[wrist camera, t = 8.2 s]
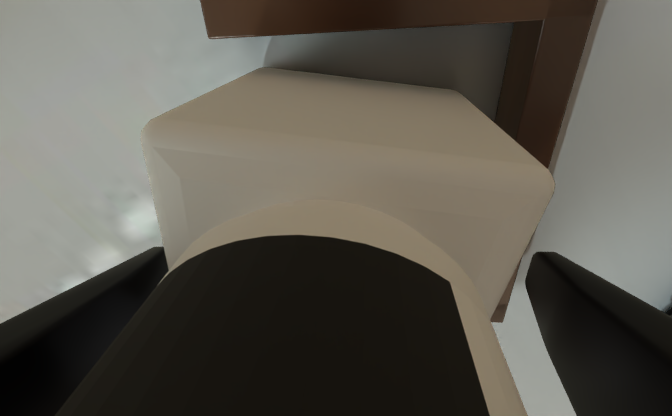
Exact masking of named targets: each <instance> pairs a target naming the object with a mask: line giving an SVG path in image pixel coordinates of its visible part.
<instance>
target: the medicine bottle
mask: <svg viewBox="0 0 672 416" xmlns="http://www.w3.org/2000/svg"><path fill="white" fill-rule="evenodd" d="M141 145H142V149H143V154H144V158H145V163H146V168H147V172H148V177H149V181H150V186H151V191H152V195H153V200H154V204H155V209H156V214H157V218H158V223H159V228H160V232H161V237H162V241H163V246H164V251H165V255H166V260H167V264H168V269H169V271H168V272H167V274H166V275H165V276H164V277H163V279H162V280H161V281H160V282H159V284H158V285H157V286H156V288H155V289H154V290H153V291H152V293H151V294H150V295H149V296H148V298H147V299H146V300H145V302H144V303H143V304H142V305H141V307H140V308H139V309H138V310H137V312H136V313H135V314H134V315H133V317H132V318H131V319H130V321H129V322H128V323H127V324H126V326H125V327H124V328H123V329H122V331H121V332H120V333H119V334H118V336H117V337H116V338H115V340H114V341H113V342H112V343H111V345H110V346H109V347H108V348H107V350H106V351H105V352H104V354H103V355H102V356H101V357H100V359H99V360H98V361H97V362H96V364H95V365H94V366H93V367H92V369H91V370H90V371H89V373H88V374H87V375H86V376H85V378H84V379H83V380H82V381H81V383H80V384H79V385H78V386H77V388H76V389H75V390H74V392H73V393H72V394H71V395H70V397H69V398H68V399H67V400H66V402H65V403H64V404H63V406H62V407H61V408H60V409H59V411H58V412H57V413H56V414H55V416H528V415H527V413H526V410H525V408H524V405H523V403H522V400H521V398H520V395H519V392H518V390H517V387H516V385H515V382H514V380H513V377H512V375H511V372H510V370H509V367H508V364H507V362H506V359H505V357H504V354H503V352H502V349H501V347H500V344H499V342H498V339H497V336H496V334H495V331H494V329H493V326H492V324H491V321H490V319H491V317H492V315H493V313H494V311H495V309H496V307H497V305H498V303H499V301H500V299H501V297H502V295H503V293H504V291H505V289H506V287H507V285H508V283H509V281H510V279H511V277H512V275H513V273H514V271H515V269H516V267H517V265H518V263H519V261H520V259H521V257H522V255H523V253H524V251H525V249H526V247H527V245H528V243H529V241H530V239H531V237H532V235H533V233H534V231H535V229H536V227H537V225H538V223H539V221H540V219H541V217H542V215H543V213H544V211H545V209H546V207H547V205H548V203H549V201H550V199H551V197H552V195H553V193H554V188H555V182H554V179H553V177H552V175H551V174H550V172H549V170H548V169H547V168H546V167H545V166H544V165H542V164H541V163H540V162H539V161H538V160H537V159H535V158H534V157H533V156H532V155H531V154H530V153H529V152H527V151H526V150H525V149H524V148H523V147H522V146H520V145H519V144H518V143H517V142H516V141H515V140H514V139H512V138H511V137H510V136H509V135H508V134H507V133H505V132H504V131H503V130H502V129H501V128H500V127H499V126H497V125H496V124H495V123H494V122H493V121H492V120H490V119H489V118H488V117H487V116H486V115H485V114H484V113H482V112H481V111H480V110H479V109H478V108H477V107H476V106H474V105H473V104H472V103H471V102H470V101H469V100H467V99H466V98H465V97H464V96H463V95H462V94H461V93H459V92H457V91H455V90H450V89H442V88H434V87H426V86H417V85H409V84H401V83H392V82H384V81H376V80H367V79H359V78H351V77H343V76H334V75H326V74H318V73H309V72H301V71H293V70H284V69H276V68H268V67H262V68H258V69H256V70H254V71H252V72H250V73H248V74H246V75H244V76H242V77H239V78H237V79H235V80H233V81H231V82H229V83H227V84H225V85H223V86H221V87H218V88H216V89H214V90H212V91H210V92H208V93H206V94H204V95H202V96H200V97H197V98H195V99H193V100H191V101H189V102H187V103H185V104H183V105H181V106H179V107H176V108H174V109H172V110H170V111H168V112H166V113H164V114H162V115H160V116H158V117H155V118H153V119H151V120H150V121H149V122H148V123H147V125H146V126H145V127H144V128H143V130H142V131H141Z"/></svg>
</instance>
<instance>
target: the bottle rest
mask: <svg viewBox="0 0 672 416" xmlns="http://www.w3.org/2000/svg"><path fill="white" fill-rule="evenodd" d="M200 2H201V7H202V11H203V16H204V20H205V25H206V29H207V34H208V38H209V39H222V38H240V37H258V36H276V35H294V34H312V33H330V32H347V31H365V30H383V29H401V28H419V27H437V26H455V25H473V24H491V23H509V22H514V26H513V31H512V36H511V41H510V47H509V52H508V57H507V62H506V67H505V73H504V78H503V83H502V88H501V93H500V99H499V104H498V109H497V114H496V119H495V124H496V125H497V126H499V127H500V128H501V129H502V130H503V131H504V132H505V133H507V134H508V135H509V136H510V137H511V138H512V139H514V140H515V141H516V142H517V143H518V144H519V145H520V146H522V147H523V148H524V149H525V150H526V151H527V152H529V153H530V154H531V155H532V156H533V157H534V158H535V159H537V160H538V161H539V162H540V163H541V164H542V165H544V166H545V167H546V168H547V169H548V167H549V164H550V161H551V157H552V154H553V150H554V147H555V144H556V140H557V137H558V134H559V130H560V127H561V123H562V120H563V117H564V113H565V110H566V106H567V103H568V100H569V96H570V93H571V90H572V86H573V83H574V79H575V76H576V73H577V69H578V66H579V63H580V59H581V56H582V52H583V49H584V46H585V42H586V39H587V35H588V32H589V29H590V25H591V22H592V19H593V15H594V12H595V8H596V5H597V2H598V0H200ZM521 259H522V257H521ZM521 259H520V261H519V263H518V265H517V267H516V269H515V271H514V273H513V275H512V277H511V279H510V281H509V283H508V285H507V287H506V289H505V291H504V293H503V295H502V297H501V299H500V301H499V303H498V305H497V307H496V309H495V311H494V313H493V315H492V317H491V319H490V321H491V322H501V323H502V322H503V320H504V316H505V313H506V309H507V306H508V303H509V299H510V296H511V293H512V289H513V286H514V282H515V279H516V276H517V272H518V269H519V265H520V262H521Z"/></svg>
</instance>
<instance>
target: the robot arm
mask: <svg viewBox="0 0 672 416" xmlns="http://www.w3.org/2000/svg"><path fill="white" fill-rule="evenodd" d="M168 271H169V269H168V264H167V260H166V255H165V251H164V247H153V248H151V249H149V250H147V251H145V252H143V253H141V254H139V255H137V256H135V257H133V258H131V259H129V260H127V261H125V262H123V263H121V264H119V265H117V266H115V267H113V268H111V269H109V270H107V271H105V272H103V273H101V274H99V275H97V276H95V277H93V278H91V279H89V280H87V281H85V282H83V283H81V284H79V285H77V286H75V287H73V288H71V289H69V290H67V291H65V292H63V293H61V294H59V295H57V296H55V297H53V298H51V299H49V300H47V301H45V302H43V303H41V304H39V305H37V306H35V307H33V308H31V309H29V310H27V311H25V312H23V313H21V314H19V315H17V316H15V317H13V318H11V319H9V320H7V321H5V322H3V323H1V324H0V416H55V414H56V413H57V412H58V411H59V409H60V408H61V407H62V406H63V404H64V403H65V402H66V400H67V399H68V398H69V397H70V395H71V394H72V393H73V392H74V390H75V389H76V388H77V386H78V385H79V384H80V383H81V381H82V380H83V379H84V378H85V376H86V375H87V374H88V373H89V371H90V370H91V369H92V367H93V366H94V365H95V364H96V362H97V361H98V360H99V359H100V357H101V356H102V355H103V354H104V352H105V351H106V350H107V348H108V347H109V346H110V345H111V343H112V342H113V341H114V340H115V338H116V337H117V336H118V334H119V333H120V332H121V331H122V329H123V328H124V327H125V326H126V324H127V323H128V322H129V321H130V319H131V318H132V317H133V315H134V314H135V313H136V312H137V310H138V309H139V308H140V307H141V305H142V304H143V303H144V302H145V300H146V299H147V298H148V296H149V295H150V294H151V293H152V291H153V290H154V289H155V288H156V286H157V285H158V284H159V282H160V281H161V280H162V279H163V277H164V276H165V275H166V274H167V272H168ZM525 284H526V289H527V292H528V295H529V298H530V302H531V305H532V308H533V311H534V314H535V317H536V320H537V323H538V326H539V329H540V332H541V335H542V338H543V341H544V343H545V346H546V349H547V351H548V354H549V356H550V358H551V360H552V363H553V365H554V367H555V369H556V371H557V374H558V376H559V378H560V380H561V382H562V384H563V387H564V389H565V391H566V393H567V395H568V398H569V400H570V402H571V404H572V406H573V409H574V411H575V413H576V415H577V416H672V308H671V309H670V310H669V311H667V312H666V313H664V312H662V311H660V310H658V309H657V308H655V307H653V306H651V305H649V304H648V303H646V302H644V301H642V300H640V299H639V298H637V297H635V296H633V295H631V294H630V293H628V292H626V291H624V290H622V289H621V288H619V287H617V286H615V285H613V284H612V283H610V282H608V281H606V280H604V279H603V278H601V277H599V276H597V275H595V274H594V273H592V272H590V271H588V270H586V269H585V268H583V267H581V266H579V265H578V264H576V263H574V262H572V261H570V260H569V259H567V258H565V257H563V256H561V255H560V254H558V253H555V252H536V253H535V254H534V255H533V257H532V260H531V263H530V266H529V269H528V273H527V276H526V280H525Z"/></svg>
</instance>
